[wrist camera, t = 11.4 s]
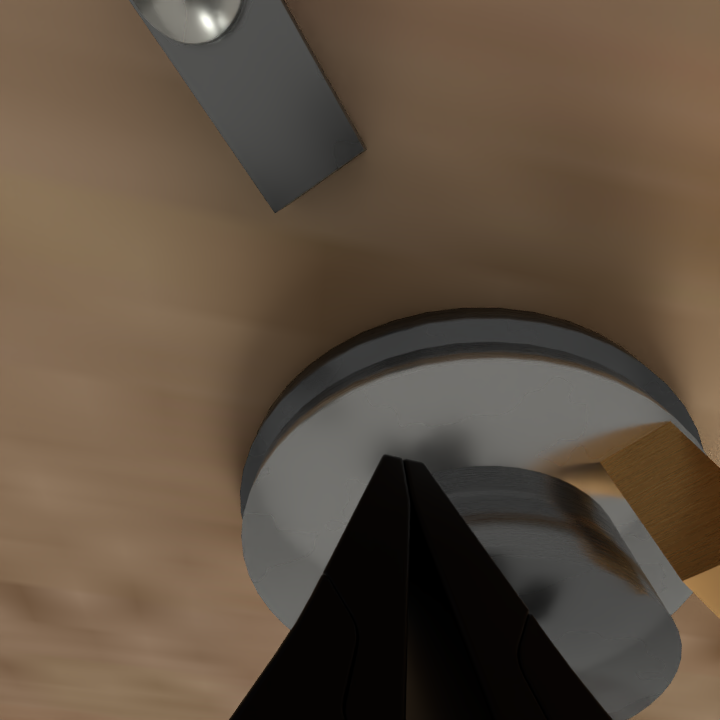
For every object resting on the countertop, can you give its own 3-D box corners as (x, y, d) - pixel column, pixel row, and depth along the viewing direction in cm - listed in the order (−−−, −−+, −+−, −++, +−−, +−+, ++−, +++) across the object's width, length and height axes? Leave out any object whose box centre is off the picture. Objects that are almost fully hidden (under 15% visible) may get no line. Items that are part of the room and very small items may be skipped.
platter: (438, 689, 19) (453, 838, 15) (169, 524, 15) (87, 669, 11) (775, 545, 14) (941, 712, 10) (512, 221, 10) (610, 278, 6)
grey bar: (367, 149, 10) (363, 149, 9) (290, 203, 11) (272, 214, 9) (205, -141, 8) (156, -221, 6) (122, -51, 9) (56, -101, 7)
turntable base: (659, 613, 18) (674, 637, 17) (311, 641, 20) (308, 663, 19) (723, 257, 11) (753, 266, 10) (179, 358, 13) (165, 373, 12)
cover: (452, 673, 17) (468, 791, 14) (283, 560, 14) (256, 675, 11) (671, 580, 13) (755, 705, 10) (509, 410, 11) (560, 513, 8)
